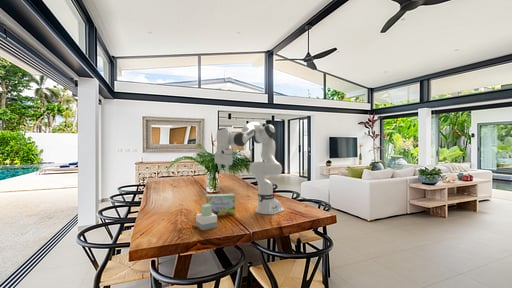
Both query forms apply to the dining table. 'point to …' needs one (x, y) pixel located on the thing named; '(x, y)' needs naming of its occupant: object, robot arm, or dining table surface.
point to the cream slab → (206, 219)
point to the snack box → (221, 203)
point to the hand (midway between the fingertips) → (223, 170)
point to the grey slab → (206, 225)
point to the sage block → (206, 210)
